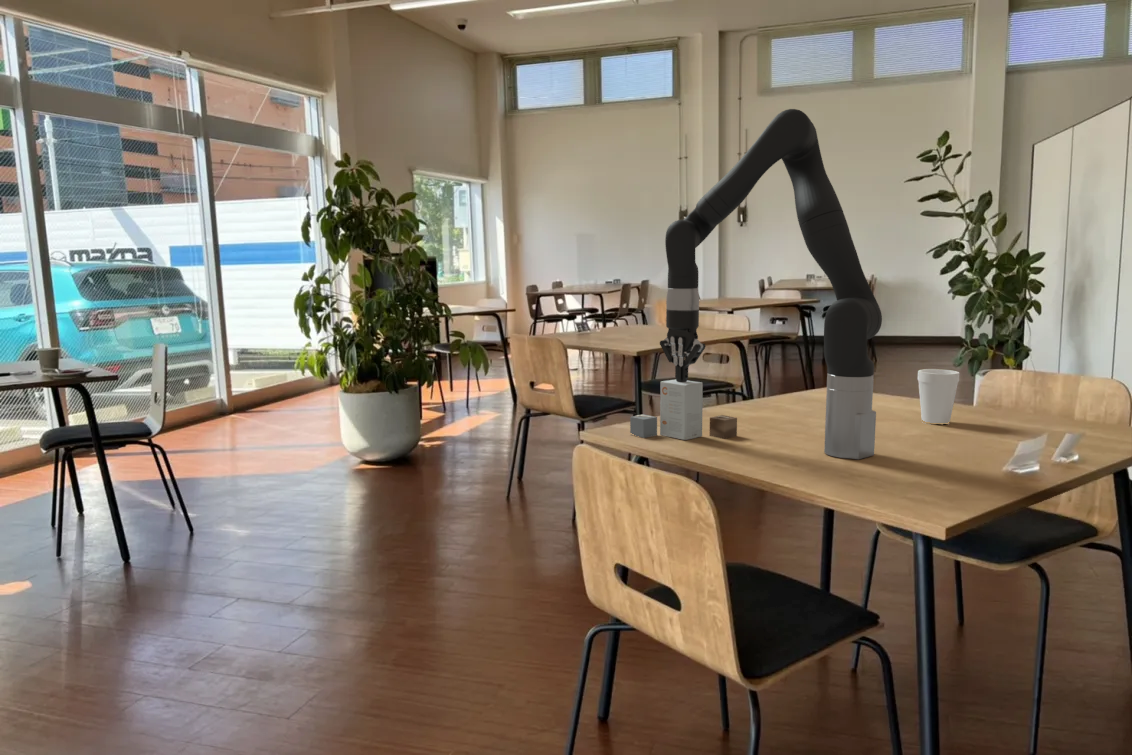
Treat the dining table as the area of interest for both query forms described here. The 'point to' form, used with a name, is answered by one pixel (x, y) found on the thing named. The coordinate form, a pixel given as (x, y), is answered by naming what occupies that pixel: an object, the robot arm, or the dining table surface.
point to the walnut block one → (723, 426)
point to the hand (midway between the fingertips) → (681, 381)
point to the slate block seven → (643, 425)
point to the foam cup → (937, 394)
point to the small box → (681, 409)
